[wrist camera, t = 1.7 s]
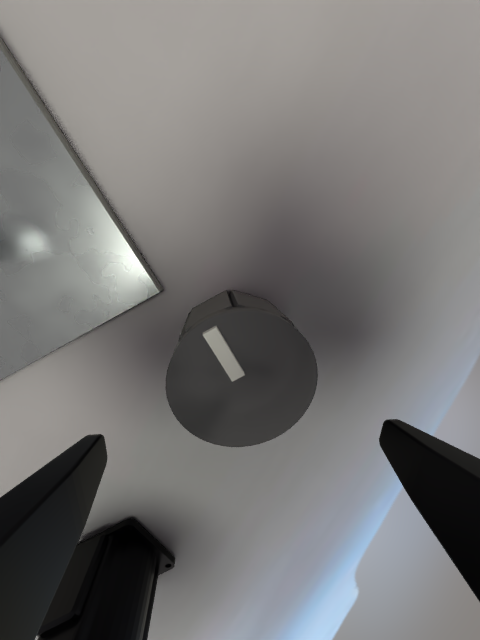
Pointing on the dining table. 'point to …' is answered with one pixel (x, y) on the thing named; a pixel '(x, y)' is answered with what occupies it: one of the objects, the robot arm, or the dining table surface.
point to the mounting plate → (54, 235)
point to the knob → (240, 372)
